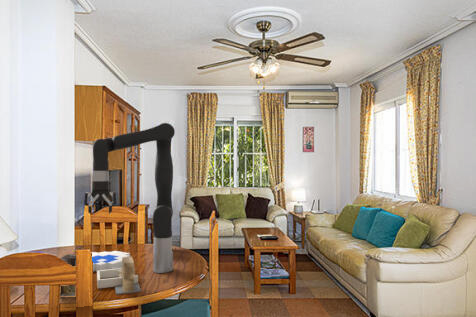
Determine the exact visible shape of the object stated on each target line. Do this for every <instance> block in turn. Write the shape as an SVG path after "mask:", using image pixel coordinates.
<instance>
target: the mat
mask: <svg viewBox="0 0 476 317" xmlns="http://www.w3.org/2000/svg"><path fill="white" fill-rule="evenodd" d="M114 290H115V294H116V295H122V294H124V295H125V294H131V293H139V292H142V289H141V287H140V284H139V282H138V283H134V291H129V292H124V291H123V287H122V285H115V286H114Z"/></svg>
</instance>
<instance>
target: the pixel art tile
mask: <svg viewBox="0 0 476 317" xmlns="http://www.w3.org/2000/svg"><path fill="white" fill-rule="evenodd" d="M91 253H92V261H93V272H97V271H99V270H109V269H118V268H122V257H131V252H125V251H119V250H113V251H105V250H104V251H101V252H96V251H92V252H91Z"/></svg>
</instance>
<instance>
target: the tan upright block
mask: <svg viewBox="0 0 476 317" xmlns="http://www.w3.org/2000/svg"><path fill="white" fill-rule="evenodd" d="M134 267H135V261H134V259H133V257H132V256H130V257H122V287H123V291H124V292H129V291H134V270H135V268H134Z"/></svg>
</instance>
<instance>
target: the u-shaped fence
mask: <svg viewBox="0 0 476 317" xmlns="http://www.w3.org/2000/svg"><path fill="white" fill-rule="evenodd" d="M135 268H136V267H135V266H134V269H135ZM118 270H122V268H118V269H109V270H99V271H96V285H97V286H96V287H97V289H104V288H106V289H107V288H113V287H114V288H115V285H122V277H118ZM134 283H138V284H139V275H138V274H137V275H136V274H135V276H134Z"/></svg>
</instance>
